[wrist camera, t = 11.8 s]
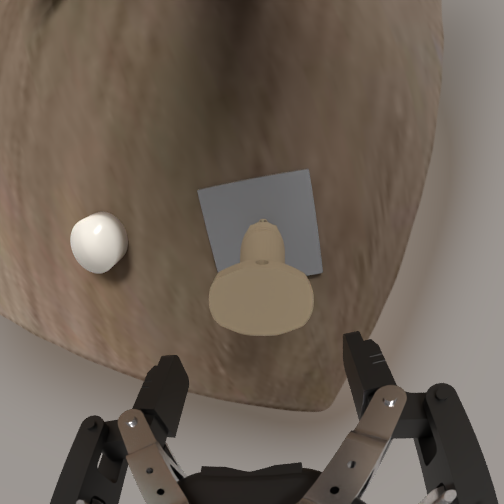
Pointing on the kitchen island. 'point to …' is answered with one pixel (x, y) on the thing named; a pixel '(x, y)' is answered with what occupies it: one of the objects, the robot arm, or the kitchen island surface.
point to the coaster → (264, 217)
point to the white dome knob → (99, 241)
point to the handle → (261, 288)
